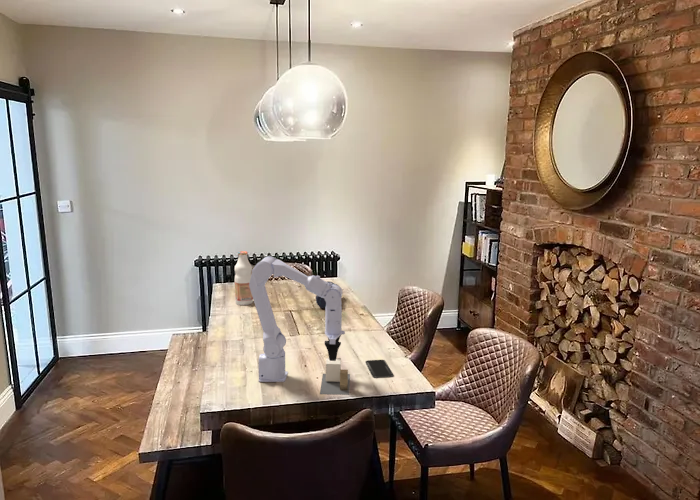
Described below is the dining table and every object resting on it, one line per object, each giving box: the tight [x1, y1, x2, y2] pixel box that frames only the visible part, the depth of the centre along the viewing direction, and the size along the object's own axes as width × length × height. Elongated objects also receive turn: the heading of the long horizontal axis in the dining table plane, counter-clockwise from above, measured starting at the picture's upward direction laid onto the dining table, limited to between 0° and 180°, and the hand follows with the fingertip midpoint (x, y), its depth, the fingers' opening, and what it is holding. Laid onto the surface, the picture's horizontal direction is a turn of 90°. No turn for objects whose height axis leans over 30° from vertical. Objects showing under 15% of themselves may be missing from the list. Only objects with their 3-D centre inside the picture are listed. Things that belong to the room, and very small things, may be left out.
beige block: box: [325, 357, 342, 382], centre depth 180 cm, size 5×5×7 cm
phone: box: [365, 359, 394, 379], centre depth 190 cm, size 8×1×15 cm
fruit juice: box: [234, 250, 254, 306], centre depth 268 cm, size 9×9×28 cm
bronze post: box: [340, 368, 349, 390], centre depth 173 cm, size 3×3×6 cm
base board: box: [319, 373, 351, 396], centre depth 177 cm, size 10×16×1 cm, turn 179°
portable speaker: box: [315, 281, 335, 309], centre depth 272 cm, size 25×10×10 cm, turn 176°
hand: (333, 355), depth 179 cm, fingers open, 7 cm apart
